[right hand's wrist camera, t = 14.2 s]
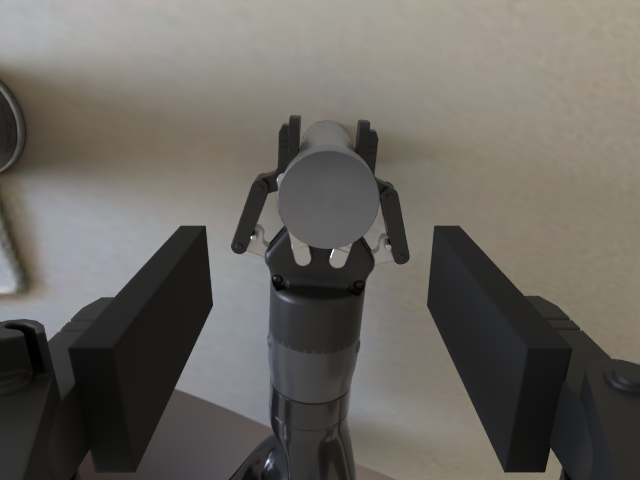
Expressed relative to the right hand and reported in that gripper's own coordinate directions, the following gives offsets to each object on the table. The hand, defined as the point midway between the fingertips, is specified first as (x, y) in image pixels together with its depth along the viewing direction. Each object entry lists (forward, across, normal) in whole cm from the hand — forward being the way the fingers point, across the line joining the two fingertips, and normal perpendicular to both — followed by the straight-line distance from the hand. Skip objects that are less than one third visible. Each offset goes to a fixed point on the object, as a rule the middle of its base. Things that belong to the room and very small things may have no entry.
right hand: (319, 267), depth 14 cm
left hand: (+20, -1, -3) cm, 20 cm away
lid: (+8, 0, 0) cm, 8 cm away
